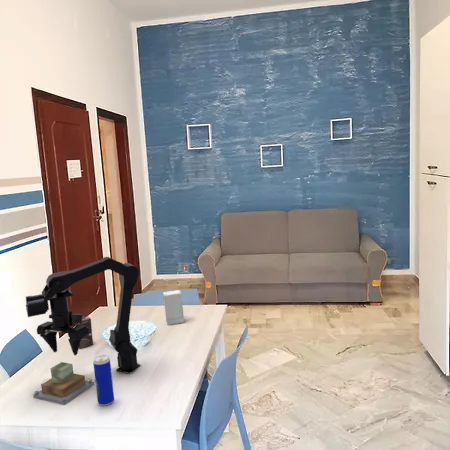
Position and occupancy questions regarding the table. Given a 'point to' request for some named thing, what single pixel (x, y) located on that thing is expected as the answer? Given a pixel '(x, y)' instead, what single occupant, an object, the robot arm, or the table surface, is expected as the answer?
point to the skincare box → (173, 307)
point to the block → (62, 373)
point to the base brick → (63, 386)
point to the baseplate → (63, 399)
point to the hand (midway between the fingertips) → (65, 353)
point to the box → (88, 338)
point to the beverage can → (103, 380)
